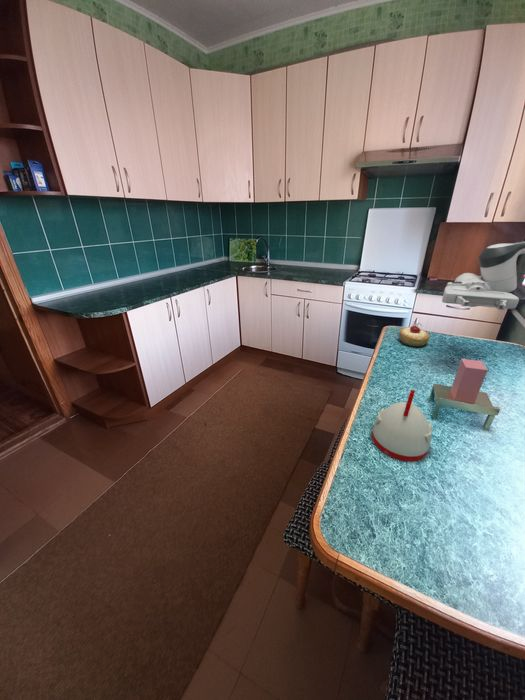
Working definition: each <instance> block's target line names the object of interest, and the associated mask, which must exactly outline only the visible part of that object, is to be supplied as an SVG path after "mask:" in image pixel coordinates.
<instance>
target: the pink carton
mask: <svg viewBox="0 0 525 700" xmlns="http://www.w3.org/2000/svg"><path fill="white" fill-rule="evenodd" d="M487 374H488V368H487V367H486V365H485V364H484V362H483V361H482V360H477V359H476V360H475V359H468V358H460V361H459V365H458V367H457V370H456V373H455V376H454V379H453V382H452V385H451V390H450V391H451V393H452V396H453V398H454V399H456V400H462V401H467V402H472V403H475V401H476V398H477V396H478V393H479V392H481V388H482V385H483V383H484V381H485V378H486V376H487Z"/></svg>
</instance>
